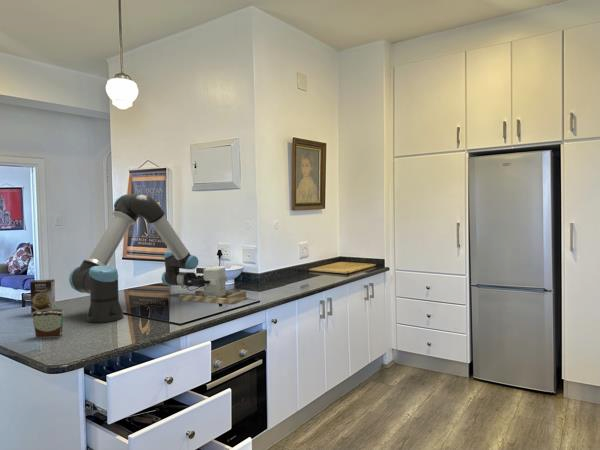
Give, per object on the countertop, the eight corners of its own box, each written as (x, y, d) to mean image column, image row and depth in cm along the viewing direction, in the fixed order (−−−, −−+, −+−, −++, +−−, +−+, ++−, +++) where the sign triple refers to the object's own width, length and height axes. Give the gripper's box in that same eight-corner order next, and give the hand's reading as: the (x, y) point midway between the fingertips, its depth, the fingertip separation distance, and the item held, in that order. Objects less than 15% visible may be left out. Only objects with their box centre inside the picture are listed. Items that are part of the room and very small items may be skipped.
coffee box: (30, 316, 206) (29, 282, 205) (35, 313, 212) (33, 280, 212) (52, 314, 209) (51, 280, 208) (56, 311, 215) (54, 278, 214)
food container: (71, 332, 178) (70, 307, 178) (64, 336, 172) (63, 311, 172) (40, 333, 178) (39, 308, 177) (31, 337, 172) (30, 312, 171)
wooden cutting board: (179, 300, 236) (179, 292, 236) (201, 293, 254) (201, 286, 254) (230, 304, 223) (230, 296, 223) (250, 296, 241) (249, 289, 241)
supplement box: (203, 297, 233) (202, 269, 233) (211, 294, 242) (210, 267, 241) (219, 298, 231) (218, 269, 230) (226, 294, 240) (225, 267, 239)
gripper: (199, 282, 254) (233, 284, 245) (174, 289, 233) (209, 291, 224) (199, 269, 253) (232, 270, 245) (173, 275, 233) (208, 276, 224)
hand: (221, 280), depth 234 cm, fingers closed on supplement box, 10 cm apart
